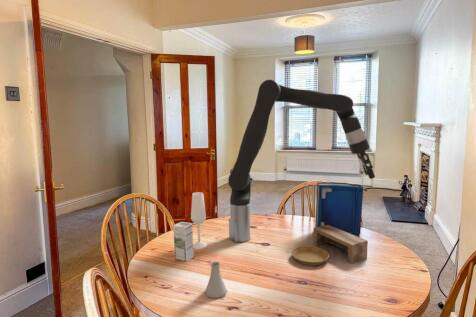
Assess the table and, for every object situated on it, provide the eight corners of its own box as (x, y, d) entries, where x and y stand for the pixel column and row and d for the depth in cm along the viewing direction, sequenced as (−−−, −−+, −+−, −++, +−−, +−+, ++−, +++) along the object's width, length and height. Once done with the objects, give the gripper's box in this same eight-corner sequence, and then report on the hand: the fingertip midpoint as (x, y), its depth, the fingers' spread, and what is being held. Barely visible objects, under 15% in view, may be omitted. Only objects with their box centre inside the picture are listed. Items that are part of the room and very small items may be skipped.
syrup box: (194, 256, 129) (193, 222, 127) (186, 262, 123) (184, 227, 122) (182, 254, 131) (181, 220, 129) (174, 259, 126) (172, 225, 124)
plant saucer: (322, 271, 115) (322, 265, 114) (285, 262, 122) (285, 256, 122) (333, 256, 127) (333, 250, 127) (299, 249, 135) (299, 243, 134)
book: (359, 231, 155) (360, 182, 152) (363, 236, 148) (365, 185, 145) (314, 230, 157) (315, 181, 154) (317, 235, 150) (317, 184, 147)
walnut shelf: (351, 263, 120) (352, 244, 119) (313, 243, 140) (313, 227, 139) (366, 258, 124) (367, 240, 123) (327, 240, 144) (327, 224, 143)
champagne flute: (189, 247, 138) (187, 194, 135) (196, 241, 144) (194, 191, 141) (202, 249, 135) (200, 195, 132) (209, 243, 142) (208, 192, 139)
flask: (205, 287, 105) (204, 259, 103) (226, 286, 105) (226, 258, 104) (204, 299, 97) (203, 269, 96) (227, 298, 98) (227, 268, 97)
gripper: (346, 142, 139) (358, 176, 139) (350, 145, 125) (364, 182, 125) (362, 136, 137) (375, 170, 137) (369, 138, 123) (383, 176, 124)
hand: (370, 176), depth 131 cm, fingers open, 8 cm apart
